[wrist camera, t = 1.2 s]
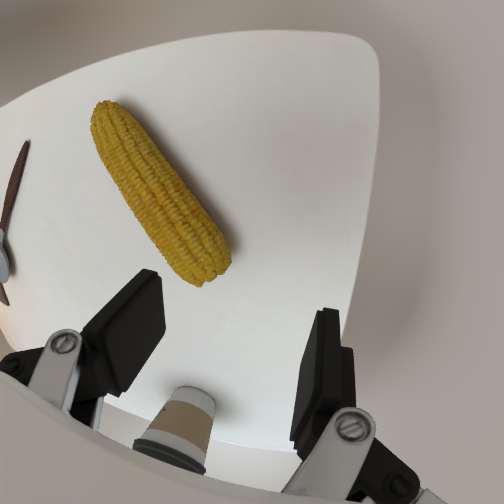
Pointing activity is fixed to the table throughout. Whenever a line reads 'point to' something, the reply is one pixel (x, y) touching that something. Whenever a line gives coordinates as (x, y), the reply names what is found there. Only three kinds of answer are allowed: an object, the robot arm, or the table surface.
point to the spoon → (0, 257)
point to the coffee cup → (180, 430)
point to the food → (159, 197)
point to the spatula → (3, 295)
